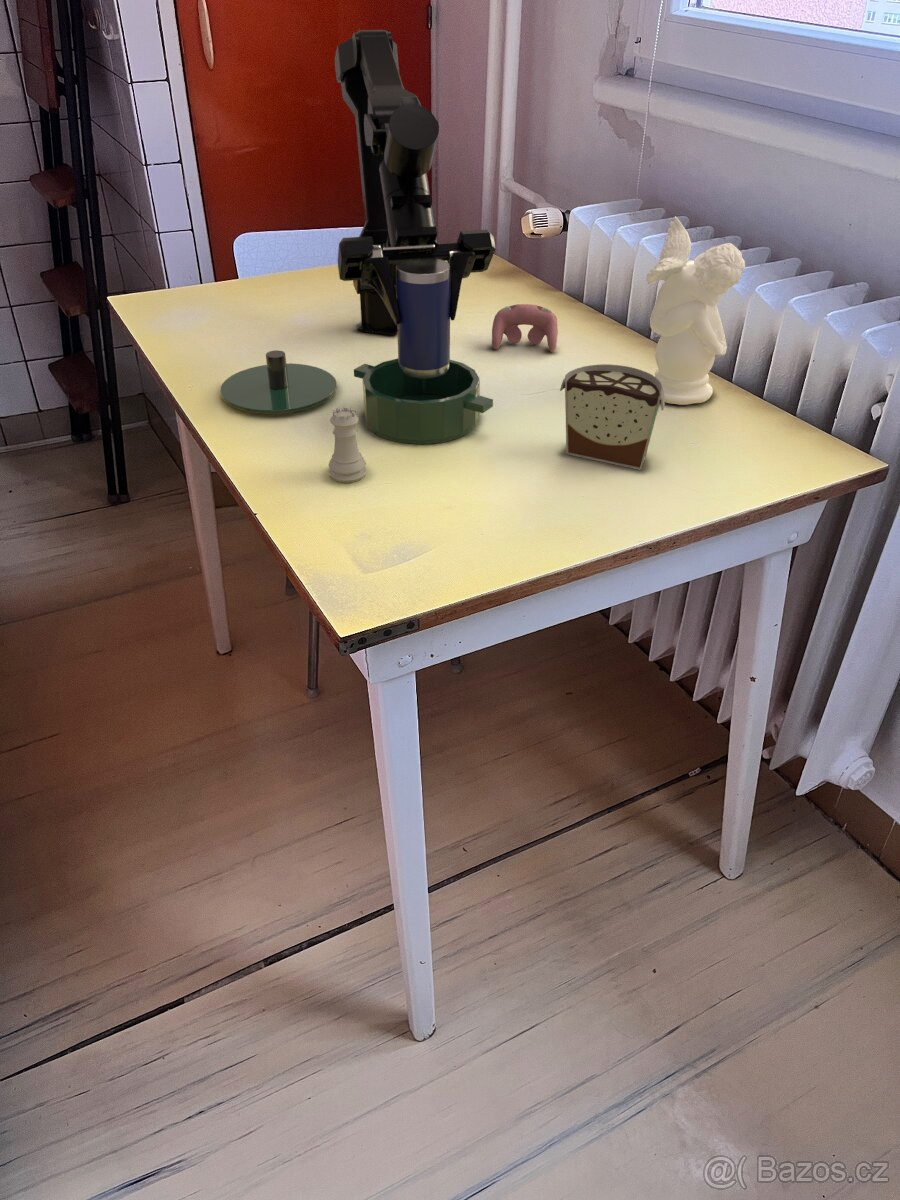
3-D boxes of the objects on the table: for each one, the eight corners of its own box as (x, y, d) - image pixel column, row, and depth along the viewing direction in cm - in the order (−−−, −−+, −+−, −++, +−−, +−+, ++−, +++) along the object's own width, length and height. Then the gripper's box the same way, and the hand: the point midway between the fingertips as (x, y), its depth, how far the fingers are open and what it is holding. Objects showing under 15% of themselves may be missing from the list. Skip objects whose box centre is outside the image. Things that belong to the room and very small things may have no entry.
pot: (455, 461, 112) (455, 418, 109) (326, 419, 121) (323, 379, 118) (516, 417, 122) (518, 377, 119) (393, 382, 131) (391, 344, 128)
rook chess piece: (337, 487, 107) (332, 423, 102) (323, 470, 110) (317, 407, 105) (373, 478, 108) (370, 415, 104) (358, 462, 112) (354, 400, 107)
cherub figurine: (731, 401, 126) (764, 232, 113) (658, 421, 121) (684, 246, 108) (672, 370, 135) (696, 209, 121) (602, 387, 130) (620, 222, 117)
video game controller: (555, 354, 143) (559, 306, 142) (556, 351, 139) (559, 302, 138) (491, 351, 144) (494, 304, 143) (490, 348, 139) (492, 300, 138)
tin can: (388, 367, 118) (384, 264, 110) (427, 354, 121) (426, 253, 114) (421, 383, 114) (419, 278, 106) (460, 369, 117) (461, 266, 110)
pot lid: (284, 428, 119) (279, 387, 116) (197, 399, 126) (190, 359, 123) (360, 386, 129) (358, 347, 126) (275, 362, 136) (271, 324, 133)
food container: (666, 450, 115) (679, 373, 109) (653, 472, 110) (665, 393, 104) (571, 431, 119) (578, 355, 113) (554, 451, 114) (561, 374, 108)
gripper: (469, 231, 124) (487, 343, 122) (329, 239, 121) (345, 354, 119) (486, 182, 113) (506, 304, 111) (332, 190, 110) (350, 315, 108)
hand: (425, 321), depth 113 cm, fingers closed on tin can, 6 cm apart
